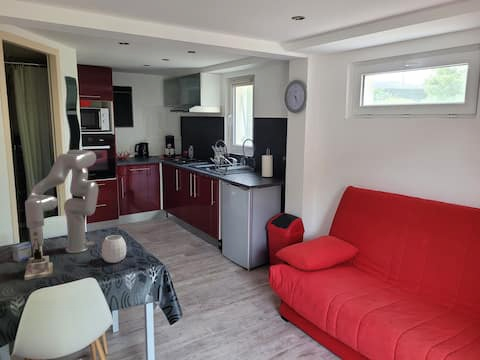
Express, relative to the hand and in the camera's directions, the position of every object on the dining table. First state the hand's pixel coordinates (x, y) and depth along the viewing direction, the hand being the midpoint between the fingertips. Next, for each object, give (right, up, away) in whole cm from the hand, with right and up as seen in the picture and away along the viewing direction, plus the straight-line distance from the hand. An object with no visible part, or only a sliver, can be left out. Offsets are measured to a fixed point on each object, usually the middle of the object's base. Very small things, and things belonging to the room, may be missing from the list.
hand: (38, 257), depth 181 cm
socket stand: (0, -8, +1) cm, 8 cm away
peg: (0, -5, +1) cm, 5 cm away
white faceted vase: (+32, -6, +19) cm, 38 cm away
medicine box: (-18, -5, +17) cm, 25 cm away
